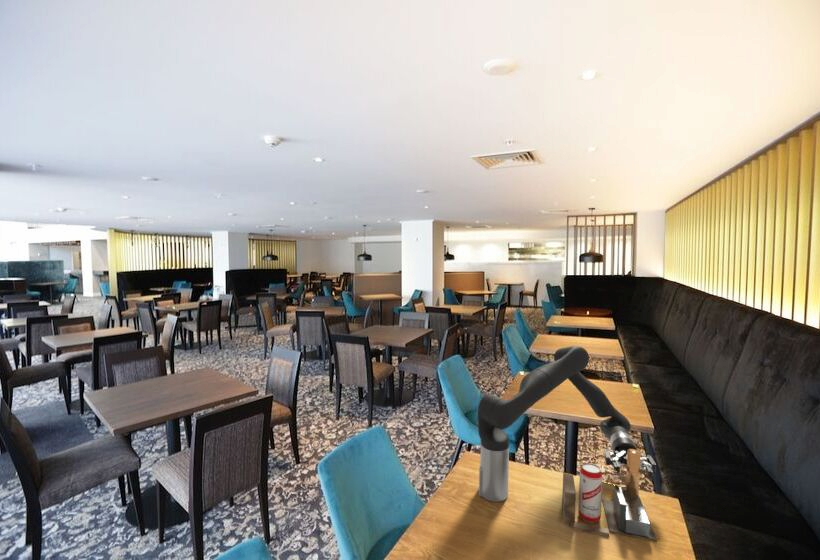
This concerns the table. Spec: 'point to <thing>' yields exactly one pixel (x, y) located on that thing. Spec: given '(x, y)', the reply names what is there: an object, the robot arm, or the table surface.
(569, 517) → the vise frame
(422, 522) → the table surface
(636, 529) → the cylinder
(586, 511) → the beer can
